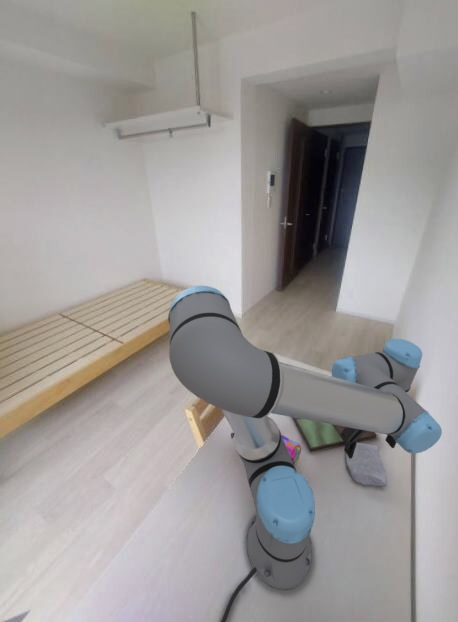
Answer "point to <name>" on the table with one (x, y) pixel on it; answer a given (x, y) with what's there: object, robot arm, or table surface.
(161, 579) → the table surface
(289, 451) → the pencil case
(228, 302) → the robot arm
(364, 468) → the stone block
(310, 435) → the board
